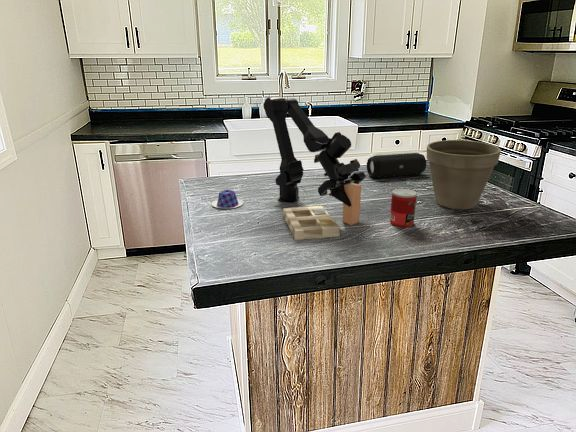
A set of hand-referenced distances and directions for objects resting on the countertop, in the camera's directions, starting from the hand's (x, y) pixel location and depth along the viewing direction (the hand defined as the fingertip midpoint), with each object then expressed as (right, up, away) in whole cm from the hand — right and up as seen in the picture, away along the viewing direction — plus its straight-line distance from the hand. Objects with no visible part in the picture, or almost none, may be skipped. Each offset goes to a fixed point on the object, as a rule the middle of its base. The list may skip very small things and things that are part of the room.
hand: (354, 204), depth 148 cm
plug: (-1, -6, +3) cm, 7 cm away
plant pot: (+41, +1, +20) cm, 46 cm away
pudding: (-45, 0, +21) cm, 50 cm away
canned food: (+16, -6, +2) cm, 17 cm away
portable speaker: (+27, +14, +57) cm, 64 cm away
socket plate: (-15, -7, 0) cm, 17 cm away
